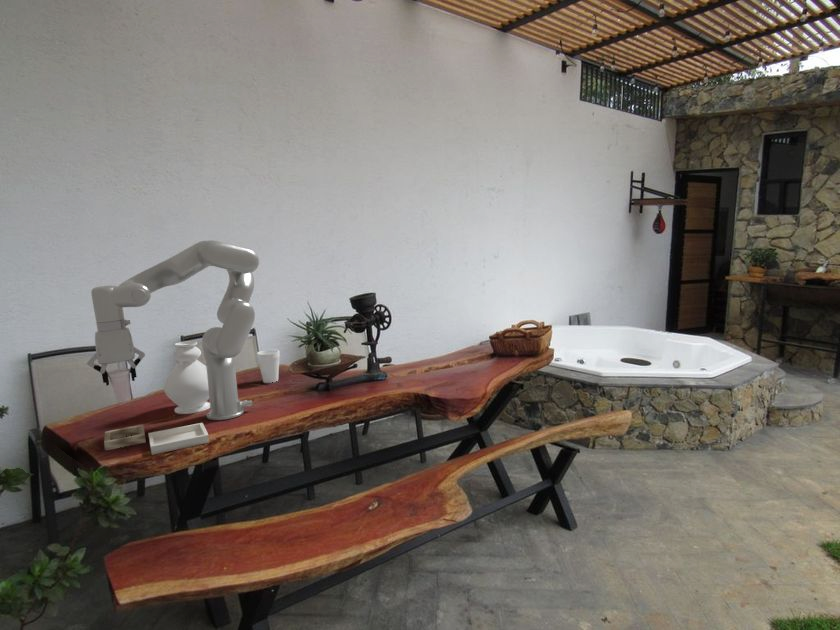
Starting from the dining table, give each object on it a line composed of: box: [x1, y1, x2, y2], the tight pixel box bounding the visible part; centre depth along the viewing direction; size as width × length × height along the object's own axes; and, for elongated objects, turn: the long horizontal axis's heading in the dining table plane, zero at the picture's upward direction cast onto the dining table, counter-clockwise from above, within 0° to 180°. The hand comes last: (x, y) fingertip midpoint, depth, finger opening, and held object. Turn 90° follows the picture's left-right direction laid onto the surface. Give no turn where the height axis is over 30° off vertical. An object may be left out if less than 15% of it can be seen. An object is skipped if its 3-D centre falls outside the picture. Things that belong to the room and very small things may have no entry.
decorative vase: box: [163, 340, 210, 415], centre depth 194 cm, size 18×18×25 cm
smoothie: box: [107, 362, 131, 404], centre depth 164 cm, size 6×6×14 cm
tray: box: [147, 422, 210, 456], centre depth 164 cm, size 16×13×2 cm
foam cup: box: [256, 349, 281, 384], centre depth 229 cm, size 10×9×13 cm
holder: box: [103, 424, 147, 451], centre depth 166 cm, size 11×11×2 cm
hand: (120, 381), depth 164 cm, fingers closed on smoothie, 6 cm apart
